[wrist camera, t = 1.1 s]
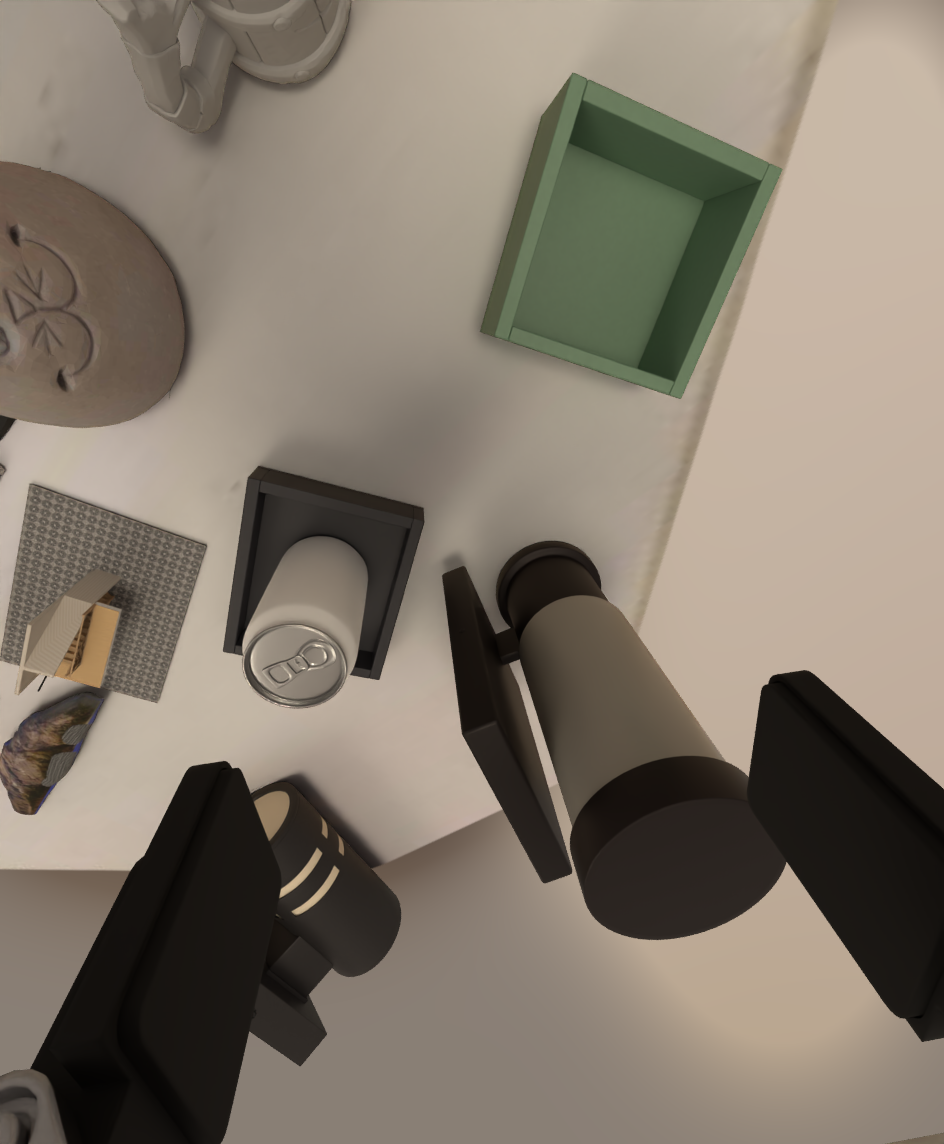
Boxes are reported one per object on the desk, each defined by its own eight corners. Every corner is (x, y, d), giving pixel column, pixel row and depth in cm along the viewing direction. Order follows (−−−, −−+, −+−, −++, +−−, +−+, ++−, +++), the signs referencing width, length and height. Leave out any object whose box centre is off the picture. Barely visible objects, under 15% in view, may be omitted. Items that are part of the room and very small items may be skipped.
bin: (479, 331, 35) (493, 336, 29) (541, 115, 31) (572, 71, 25) (639, 385, 38) (681, 399, 32) (718, 192, 33) (783, 168, 28)
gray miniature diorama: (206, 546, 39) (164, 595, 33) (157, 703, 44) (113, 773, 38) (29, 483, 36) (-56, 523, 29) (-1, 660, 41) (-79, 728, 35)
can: (385, 587, 42) (377, 683, 31) (313, 625, 43) (281, 731, 32) (337, 517, 39) (311, 597, 28) (261, 559, 40) (207, 652, 29)
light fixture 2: (276, 763, 52) (374, 868, 59) (140, 886, 46) (268, 985, 54) (313, 812, 44) (420, 926, 52) (154, 968, 38) (301, 1069, 46)
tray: (233, 631, 43) (222, 652, 40) (258, 465, 37) (247, 477, 35) (380, 659, 45) (379, 680, 43) (423, 507, 40) (424, 521, 37)
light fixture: (614, 627, 46) (804, 922, 24) (494, 674, 47) (570, 1001, 25) (574, 502, 41) (769, 732, 19) (438, 557, 42) (473, 841, 20)
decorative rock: (118, 692, 43) (50, 665, 42) (104, 713, 41) (32, 686, 40) (47, 804, 49) (-17, 785, 47) (32, 828, 47) (-35, 809, 45)
